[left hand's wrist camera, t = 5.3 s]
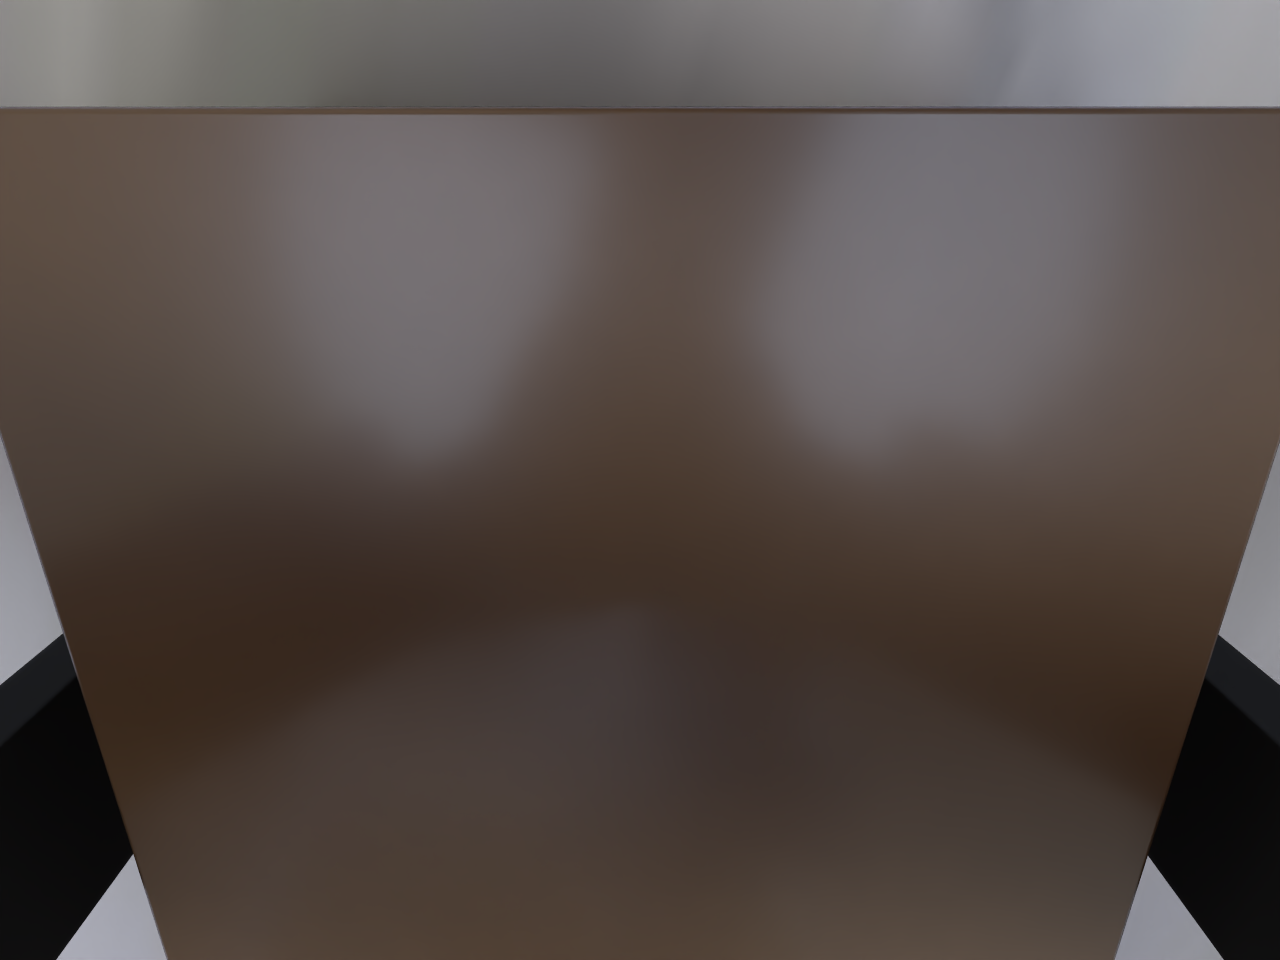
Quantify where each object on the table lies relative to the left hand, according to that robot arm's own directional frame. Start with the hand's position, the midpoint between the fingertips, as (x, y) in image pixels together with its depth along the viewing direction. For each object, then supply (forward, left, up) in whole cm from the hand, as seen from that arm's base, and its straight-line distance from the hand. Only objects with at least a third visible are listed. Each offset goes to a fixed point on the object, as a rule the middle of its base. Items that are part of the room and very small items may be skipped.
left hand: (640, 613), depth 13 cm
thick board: (+2, +19, -2) cm, 20 cm away
